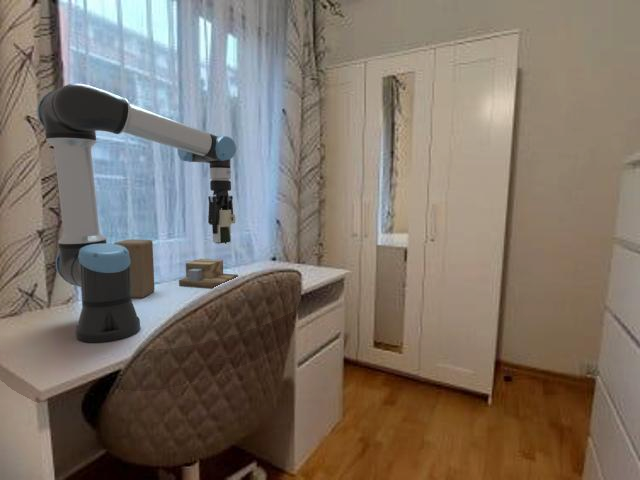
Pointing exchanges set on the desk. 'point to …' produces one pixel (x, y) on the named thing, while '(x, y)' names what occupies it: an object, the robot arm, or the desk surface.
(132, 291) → the wooden block
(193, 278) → the grey cube
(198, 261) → the walnut stand
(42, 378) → the desk surface
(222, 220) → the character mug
